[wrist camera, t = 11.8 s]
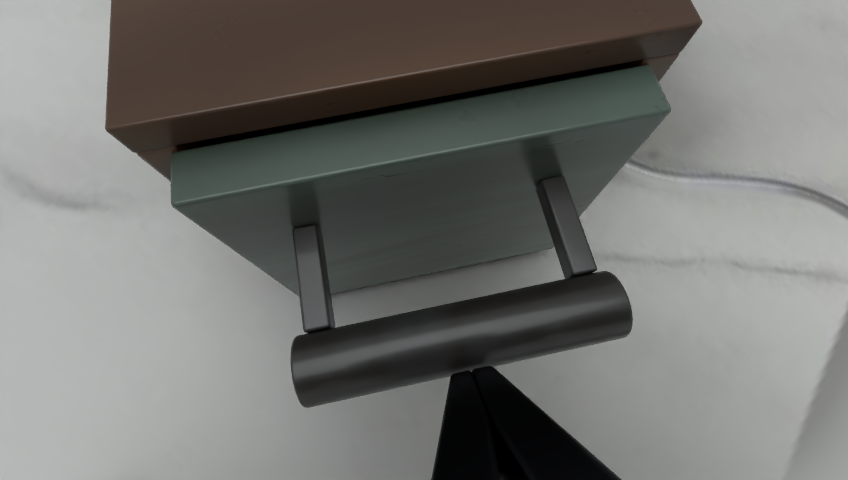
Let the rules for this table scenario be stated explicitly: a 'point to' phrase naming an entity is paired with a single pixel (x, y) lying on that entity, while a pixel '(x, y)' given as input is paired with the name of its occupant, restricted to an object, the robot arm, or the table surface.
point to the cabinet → (353, 58)
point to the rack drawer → (430, 221)
